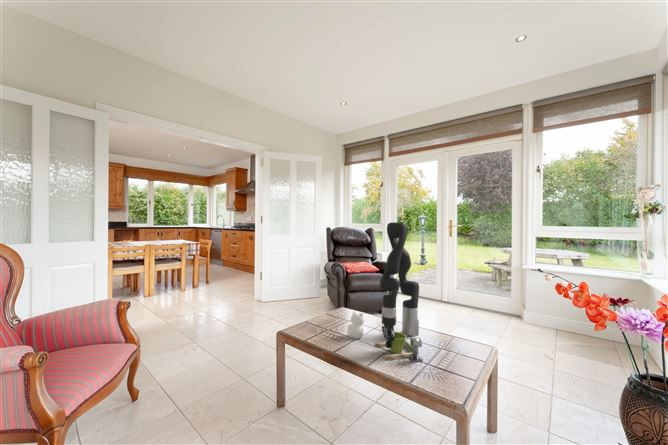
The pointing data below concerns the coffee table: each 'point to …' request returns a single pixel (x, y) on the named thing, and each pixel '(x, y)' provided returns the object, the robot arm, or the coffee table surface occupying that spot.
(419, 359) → the winch post
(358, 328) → the cat figurine
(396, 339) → the plant pot
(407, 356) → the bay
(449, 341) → the coffee table surface
